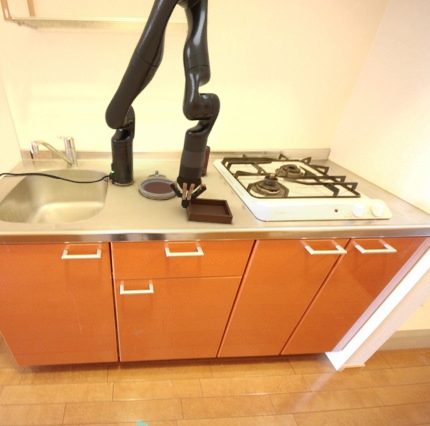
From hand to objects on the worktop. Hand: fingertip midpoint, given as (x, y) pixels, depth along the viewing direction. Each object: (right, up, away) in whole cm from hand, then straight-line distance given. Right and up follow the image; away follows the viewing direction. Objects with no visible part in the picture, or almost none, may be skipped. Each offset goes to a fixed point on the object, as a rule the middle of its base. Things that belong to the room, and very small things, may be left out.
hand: (184, 207), depth 83 cm
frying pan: (-9, +10, +20) cm, 24 cm away
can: (+13, +17, +30) cm, 37 cm away
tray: (+9, -2, +1) cm, 9 cm away
